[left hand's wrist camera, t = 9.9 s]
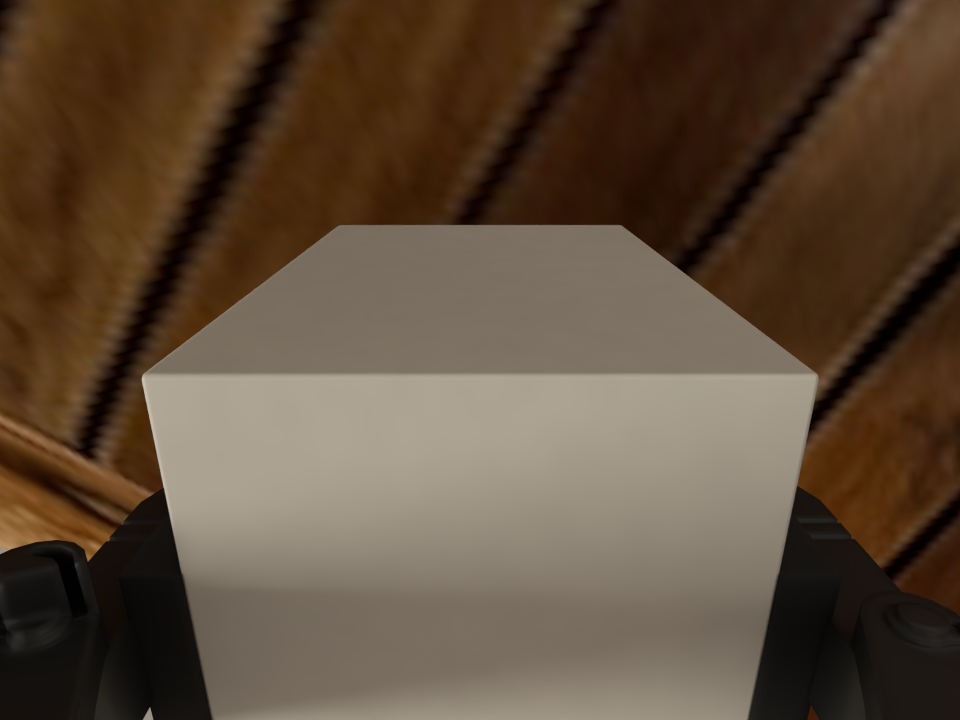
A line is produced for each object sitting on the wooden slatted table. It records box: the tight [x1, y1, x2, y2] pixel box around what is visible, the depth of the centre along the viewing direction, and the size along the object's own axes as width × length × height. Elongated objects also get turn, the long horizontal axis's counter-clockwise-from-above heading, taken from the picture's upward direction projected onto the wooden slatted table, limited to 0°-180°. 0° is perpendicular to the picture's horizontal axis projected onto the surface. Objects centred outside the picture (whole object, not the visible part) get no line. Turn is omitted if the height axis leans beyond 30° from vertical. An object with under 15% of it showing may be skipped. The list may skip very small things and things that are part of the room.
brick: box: [142, 225, 819, 720], centre depth 13 cm, size 8×7×10 cm
